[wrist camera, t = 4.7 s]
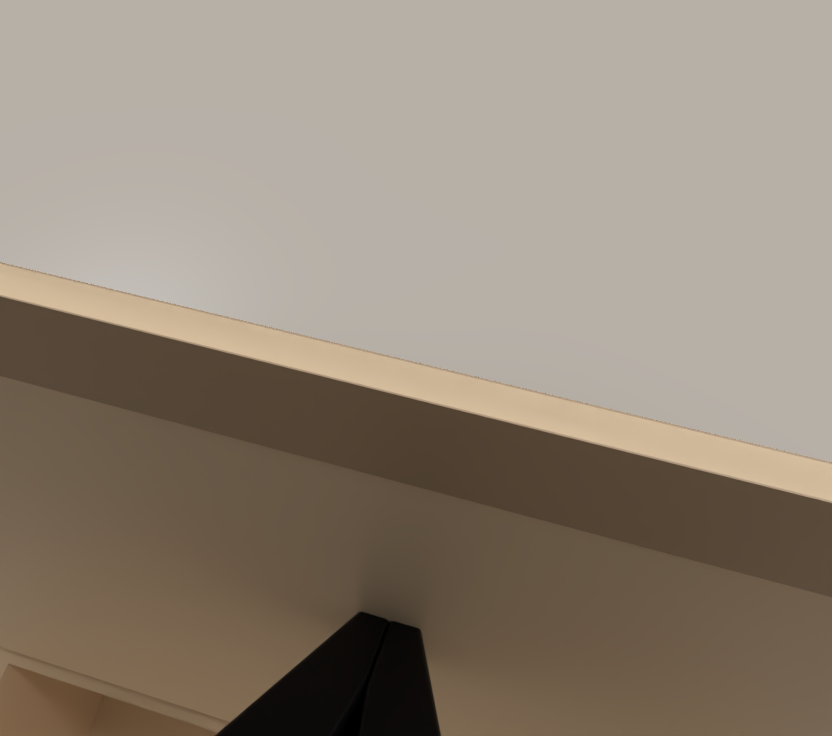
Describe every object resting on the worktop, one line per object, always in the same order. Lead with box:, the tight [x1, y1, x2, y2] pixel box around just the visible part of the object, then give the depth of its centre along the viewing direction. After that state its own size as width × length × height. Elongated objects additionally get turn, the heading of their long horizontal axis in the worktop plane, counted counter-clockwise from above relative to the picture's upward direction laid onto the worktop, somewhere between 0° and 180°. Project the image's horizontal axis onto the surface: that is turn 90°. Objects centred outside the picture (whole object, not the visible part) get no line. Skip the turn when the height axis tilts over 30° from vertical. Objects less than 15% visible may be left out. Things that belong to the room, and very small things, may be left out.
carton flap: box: [0, 262, 832, 736], centre depth 9 cm, size 11×17×1 cm
